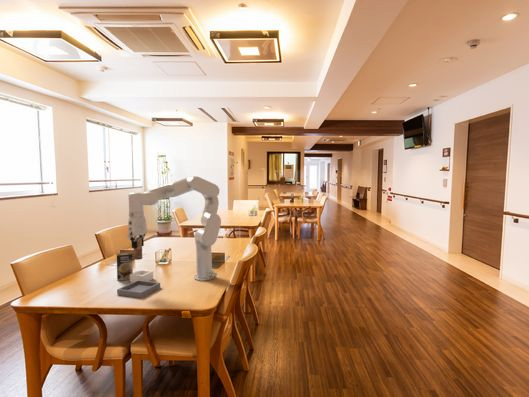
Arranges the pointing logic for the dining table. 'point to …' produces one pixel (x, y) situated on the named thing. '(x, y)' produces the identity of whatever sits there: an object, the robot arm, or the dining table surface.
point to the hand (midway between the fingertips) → (137, 246)
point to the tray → (138, 289)
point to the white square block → (141, 275)
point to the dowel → (138, 249)
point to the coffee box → (124, 266)
